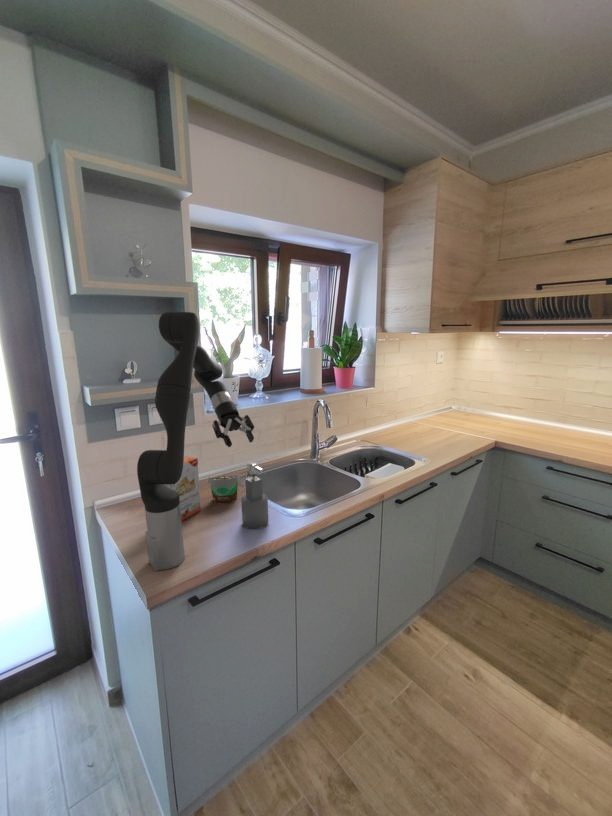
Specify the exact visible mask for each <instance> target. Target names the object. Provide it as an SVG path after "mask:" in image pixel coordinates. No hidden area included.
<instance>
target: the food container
mask: <svg viewBox="0 0 612 816" xmlns="http://www.w3.org/2000/svg"><path fill="white" fill-rule="evenodd" d="M240 478H241V477H240V474H237V475H236V474H234V475H222V476H219V477H212V478H211V477H210V476H208V480H207V483H208V484H209V486H210V490H211V491H210V492H211V495H212V500H213V502H214V503H215V504H219V505H222V504H230V503H234V501H236V500H237V499H238V486H239V484H238V483H239V481H240Z"/></svg>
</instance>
